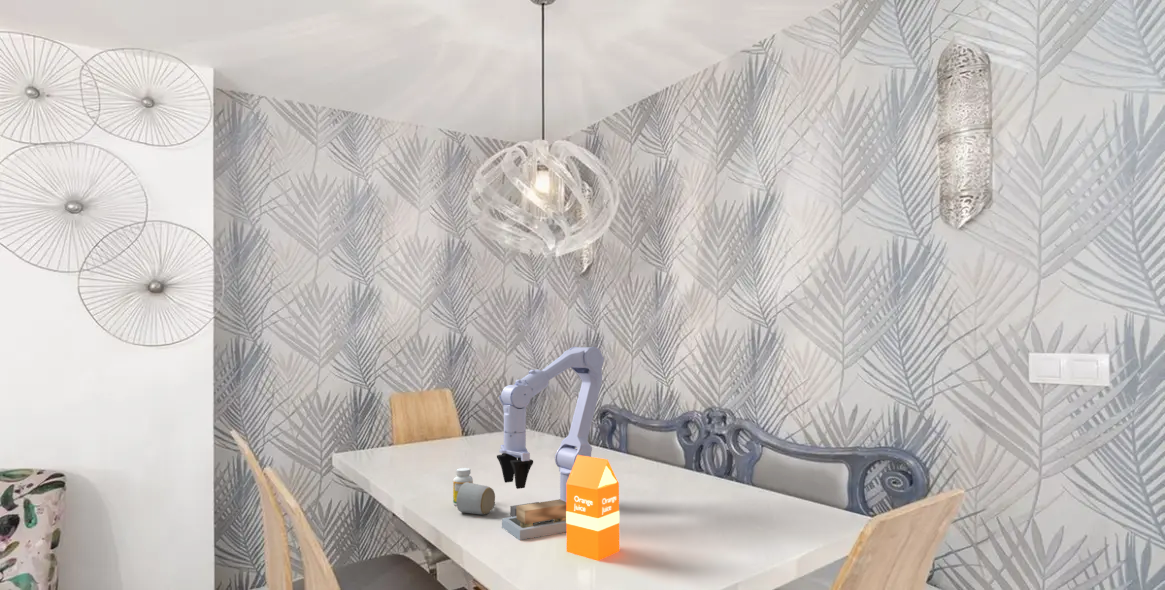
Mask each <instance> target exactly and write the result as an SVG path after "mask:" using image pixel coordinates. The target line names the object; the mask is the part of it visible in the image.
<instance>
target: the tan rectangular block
mask: <svg viewBox="0 0 1165 590" xmlns="http://www.w3.org/2000/svg"><path fill="white" fill-rule="evenodd" d="M538 502H539V501H538ZM532 503H533V504H528V503H525V504H526V505H521V504H518V505H519V506H516V519H518V520H519V521H521V522H523V523H524V524H528V523H534V522H540V521H546V520H552V519H557V518H563V517H566V511H567V502H565V501H563V500H561V499H560V498H558V499H552V500H547V501H540V502H539V503H534V502H532Z"/></svg>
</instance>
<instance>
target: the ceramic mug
mask: <svg viewBox="0 0 1165 590" xmlns="http://www.w3.org/2000/svg"><path fill="white" fill-rule="evenodd" d="M456 502H457V506H456V508H457V510H458V512H460V513H462V514H463V513H464V514H465V513H466V514H475V515H481V516H483V515H488V514H489V513H491V512H492V510H493V509H494V508H495V505H496V494H495V491H494V489H493V487H490V486H487V485H483V484H478V483H474V482H473V483H469V482H466V483H464V484H463V485H462V486H461V487H460V489H459V491H458V494H457V500H456Z"/></svg>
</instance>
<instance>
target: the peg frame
mask: <svg viewBox="0 0 1165 590" xmlns="http://www.w3.org/2000/svg"><path fill="white" fill-rule="evenodd" d="M552 520H554V521H553V522H552V523H551V521H550V520H546V521H548V522H550V523H546V522H545V521H540V522H542V523H545V524H540V523H539V522H534V523H536V524H539V525H534V524H533V523H528V524H524V523H523V522H521V521H519V520H518V519H516V516H514V517H511V516H508V517H504V518H501V528H502V529H503V528H504V529H505V531H506V530H507V531H508V533H509V534H510V533H511V534H510V535H512V536H513V535H514V536H515V538H516V539H517V538H518V541H523V540H522V539H525V540H528V539H527V538H530V539H533V538H534V537H535V538H540V536H541V537H544V536H546V537H547V536H549V535H550V536H552V535H557V534H562V532H563V533H567V523H566V517H563V518H557V519H552ZM504 529H503V530H504ZM507 531H506V532H507ZM514 536H513V537H514Z"/></svg>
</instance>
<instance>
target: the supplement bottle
mask: <svg viewBox="0 0 1165 590" xmlns="http://www.w3.org/2000/svg"><path fill="white" fill-rule="evenodd" d="M455 475H456V476H455V477H454V478H453V479H452V480H453V481H452V482H453V486H452V488H453V489H452V490H453V491H452V493H453V494H452V504H453V506H456V507H457V502H456V500H457V494H458V491H459V489H460V487H461V486H462V485H463V484H464V483H466V482H469V483H474V480H473V476H472V475H471V468H469V467H460V468H457V469H456V470H455Z"/></svg>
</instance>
